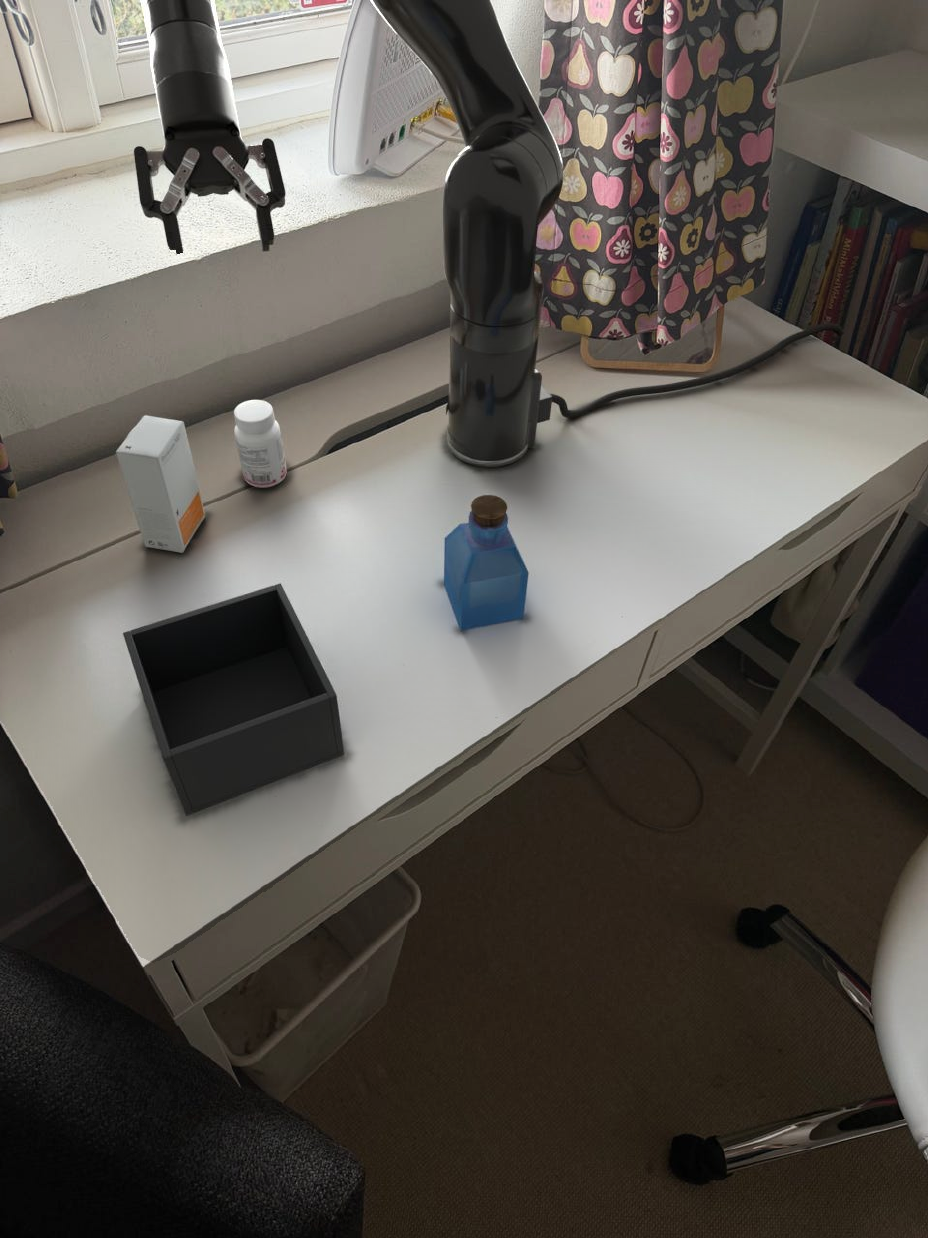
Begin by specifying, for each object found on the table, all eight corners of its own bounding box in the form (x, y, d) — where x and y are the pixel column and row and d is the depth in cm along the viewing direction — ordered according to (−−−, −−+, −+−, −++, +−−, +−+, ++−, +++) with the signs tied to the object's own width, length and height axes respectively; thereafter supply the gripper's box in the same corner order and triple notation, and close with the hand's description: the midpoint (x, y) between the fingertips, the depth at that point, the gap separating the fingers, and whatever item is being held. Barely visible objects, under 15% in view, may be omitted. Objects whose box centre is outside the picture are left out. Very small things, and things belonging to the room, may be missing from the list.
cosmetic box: (184, 554, 88) (157, 458, 79) (144, 547, 89) (112, 451, 80) (208, 515, 92) (184, 419, 83) (169, 509, 93) (142, 413, 84)
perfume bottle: (460, 630, 82) (464, 536, 74) (443, 584, 86) (445, 489, 78) (523, 618, 84) (534, 524, 75) (503, 573, 88) (512, 479, 79)
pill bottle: (266, 455, 99) (255, 391, 93) (296, 473, 97) (287, 409, 91) (234, 476, 97) (220, 411, 90) (263, 494, 95) (251, 429, 88)
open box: (291, 644, 81) (280, 582, 75) (344, 754, 73) (337, 695, 67) (146, 693, 77) (122, 632, 71) (186, 816, 69) (163, 759, 63)
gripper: (113, 70, 83) (146, 245, 85) (265, 63, 86) (295, 232, 87) (126, 111, 91) (156, 271, 92) (265, 104, 94) (293, 259, 95)
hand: (223, 252), depth 90 cm, fingers open, 8 cm apart
